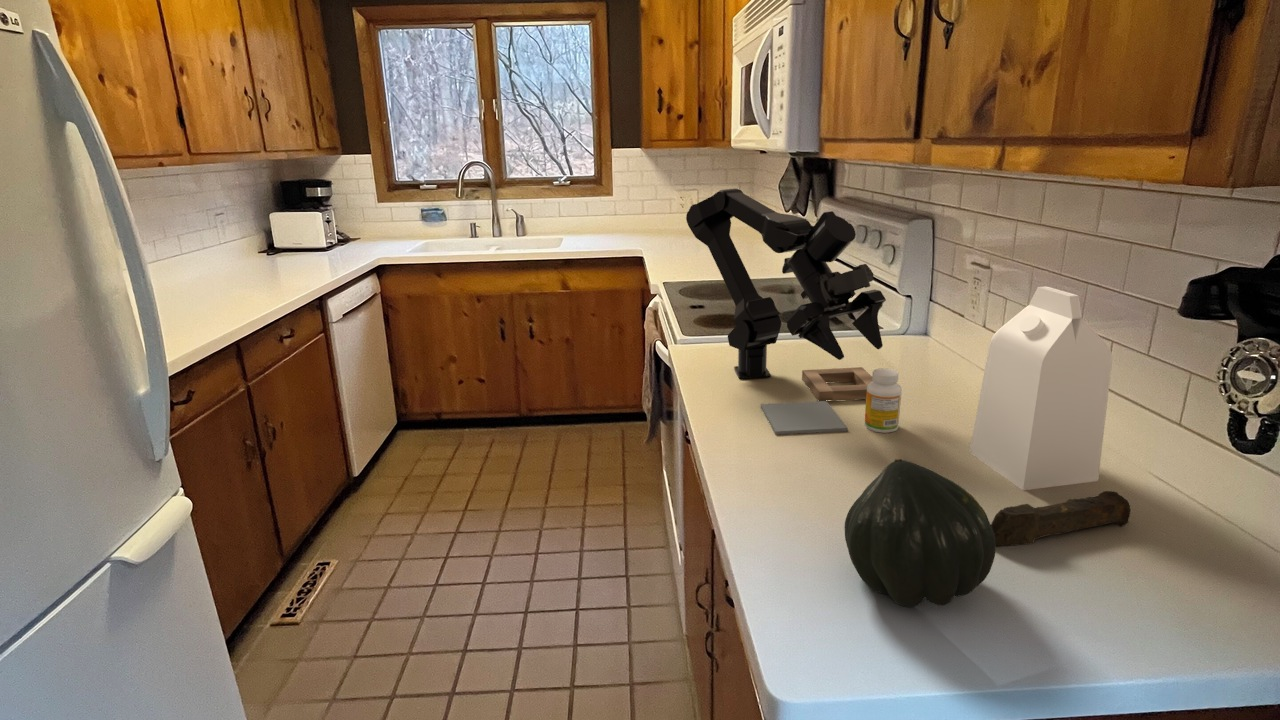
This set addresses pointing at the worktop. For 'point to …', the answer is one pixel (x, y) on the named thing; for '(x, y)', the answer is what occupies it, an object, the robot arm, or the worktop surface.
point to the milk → (1044, 396)
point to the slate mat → (803, 417)
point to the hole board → (849, 392)
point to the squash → (919, 536)
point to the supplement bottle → (883, 401)
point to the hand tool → (1058, 518)
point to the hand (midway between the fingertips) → (861, 353)
